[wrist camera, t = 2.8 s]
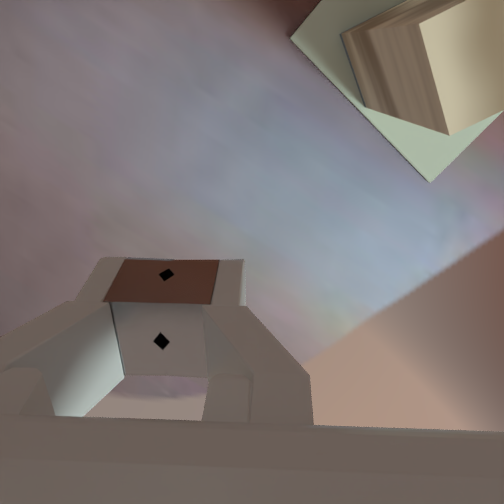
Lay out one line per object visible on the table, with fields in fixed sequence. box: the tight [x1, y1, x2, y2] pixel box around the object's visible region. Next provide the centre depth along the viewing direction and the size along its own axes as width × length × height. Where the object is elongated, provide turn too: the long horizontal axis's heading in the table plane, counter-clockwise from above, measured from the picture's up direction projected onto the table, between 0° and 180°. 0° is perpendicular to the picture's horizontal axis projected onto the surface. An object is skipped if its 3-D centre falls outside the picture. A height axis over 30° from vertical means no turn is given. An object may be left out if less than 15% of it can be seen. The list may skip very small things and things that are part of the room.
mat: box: [289, 0, 504, 183], centre depth 34 cm, size 16×16×1 cm
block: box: [339, 0, 504, 136], centre depth 28 cm, size 6×6×13 cm
